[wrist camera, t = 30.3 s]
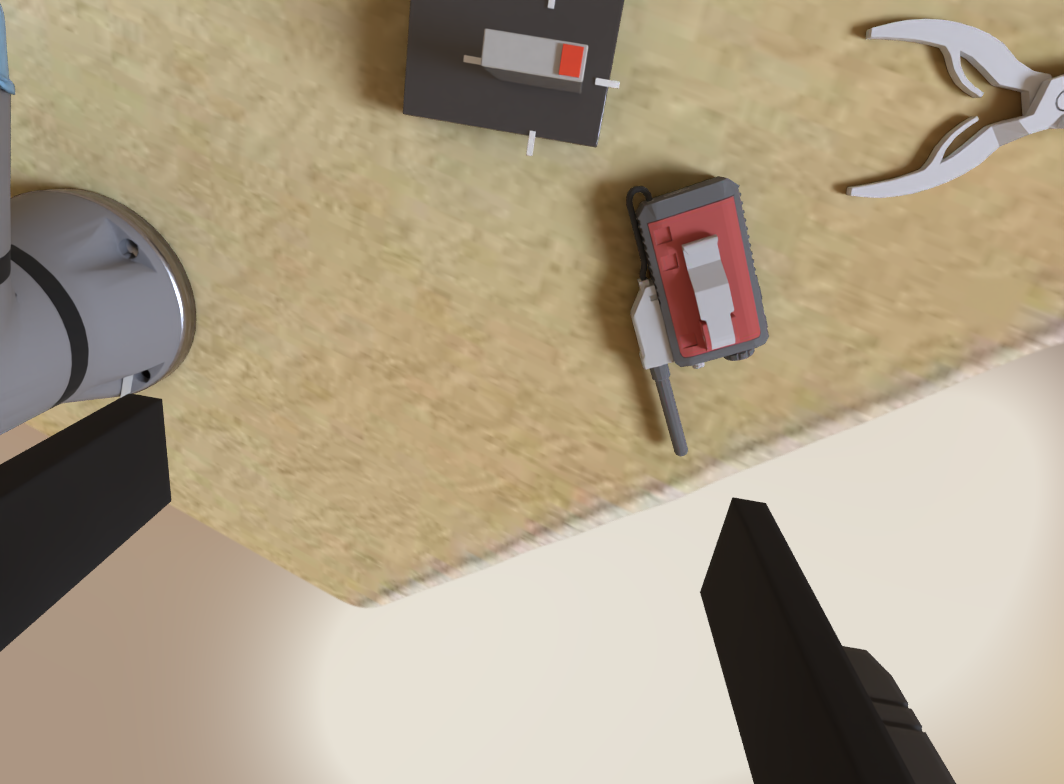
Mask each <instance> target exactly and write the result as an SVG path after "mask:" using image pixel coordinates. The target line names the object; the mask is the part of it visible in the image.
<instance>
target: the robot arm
mask: <svg viewBox="0 0 1064 784" xmlns="http://www.w3.org/2000/svg"><path fill="white" fill-rule="evenodd" d="M11 94H13V95H15V86H14V84H13V82H12V81H11V80H10V79H9V69H8V58H7V43H6V28H5V17H4V12H3V9H2V6H1V4H0V435H1V434H3V433H5V432H7V431H9V430H11V429H13V428H15V427H16V426H18V425H20V424H22V423H24V422H26V421H28V420H30V419H32V418H33V417H35V416H37V415H39V414H41V413H43V412H45V411H47V410H49V409H51V408H53V407H55V406H57V405H59V404H61V403H68V402H76V401H85V400H93V399H102V398H110V397H118V396H121V397H120V398H119V399H118V400H116V401H114V402H112V403H110V404H109V405H107V406H105V407H103V408H101V409H100V410H98V411H96V412H94V413H92V414H91V415H89V416H87V417H85V418H83V419H82V420H80V421H78V422H76V423H74V424H73V425H71V426H69V427H67V428H65V429H64V430H62V431H60V432H58V433H56V434H55V435H53V436H51V437H49V438H47V439H46V440H44V441H42V442H40V443H38V444H37V445H35V446H33V447H31V448H29V449H28V450H26V451H24V452H22V453H20V454H19V455H17V456H15V457H13V458H12V459H10V460H8V461H6V462H4V463H2V464H1V465H0V651H2V650H3V649H4V648H5V647H6V646H7V645H8V644H10V643H11V642H12V641H13V640H14V639H15V638H16V637H17V636H19V635H20V634H21V633H22V632H23V631H24V630H25V629H27V628H28V627H29V626H30V625H31V624H32V623H33V622H35V621H36V620H37V619H38V618H39V617H40V616H41V615H43V614H44V613H45V612H46V611H47V610H48V609H49V608H50V607H52V606H53V605H54V604H55V603H56V602H57V601H58V600H60V599H61V598H62V597H63V596H64V595H65V594H66V593H67V592H68V591H70V590H71V589H72V588H73V587H74V586H75V585H77V584H78V583H79V582H80V581H81V580H82V579H83V578H84V577H86V576H87V575H88V574H89V573H90V572H91V571H92V570H94V569H95V568H96V567H97V566H98V565H99V564H100V563H102V562H103V561H104V560H105V559H106V558H107V557H108V556H109V555H111V554H112V553H113V552H114V551H115V550H116V549H117V548H118V547H120V546H121V545H122V544H123V543H124V542H125V541H126V540H128V539H129V538H130V537H131V536H132V535H133V534H134V533H136V531H138V530H139V529H140V528H141V527H142V526H144V525H145V524H146V523H147V522H148V521H149V520H150V519H151V518H153V517H154V516H155V515H156V514H157V513H158V512H159V511H161V510H162V509H163V508H164V507H165V506H166V505H167V504H169V503H170V502H171V491H170V480H169V469H168V459H167V448H166V437H165V426H164V415H163V404H162V399H159V398H153V397H147V396H142V395H136V394H134V393H137V392H140V391H142V390H145V389H147V388H148V387H150V386H152V385H154V384H156V383H157V382H159V381H161V380H163V379H164V378H166V377H167V376H169V375H170V374H172V373H173V372H174V371H175V370H176V369H177V368H178V367H179V366H180V365H181V363H182V362H183V361H184V359H185V358H186V356H187V355H188V352H189V350H190V348H191V345H192V342H193V339H194V335H195V329H196V307H195V300H194V296H193V291H192V288H191V285H190V282H189V279H188V277H187V274H186V272H185V270H184V268H183V266H182V264H181V262H180V261H179V259H178V257H177V256H176V254H175V252H174V251H173V250H172V248H171V247H170V245H169V244H168V243H167V242H166V240H165V239H164V238H163V237H162V236H161V235H160V234H159V233H158V231H157V230H156V229H155V228H154V227H153V226H151V225H150V224H149V223H148V222H147V221H146V220H145V219H143V218H142V217H141V216H139V215H138V214H137V213H135V212H134V211H132V210H131V209H129V208H128V207H126V206H125V205H123V204H121V203H119V202H117V201H115V200H113V199H111V198H108V197H106V196H103V195H100V194H97V193H94V192H90V191H85V190H79V189H51V190H40V191H31V192H27V193H22V194H20V195H17V196H14V197H12V198H10V178H11ZM700 593H701V597H702V600H703V604H704V607H705V611H706V614H707V618H708V622H709V625H710V628H711V632H712V636H713V639H714V643H715V647H716V650H717V654H718V657H719V661H720V664H721V668H722V672H723V675H724V678H725V682H726V686H727V689H728V693H729V697H730V700H731V704H732V707H733V711H734V714H735V717H736V721H737V725H738V728H739V732H740V736H741V739H742V743H743V746H744V750H745V753H746V757H747V761H748V764H749V768H750V771H751V774H752V778H753V782H754V784H956V783H955V781H954V780H953V778H952V776H951V774H950V772H949V771H948V769H947V768H946V766H945V764H944V762H943V761H942V759H941V757H940V756H939V754H938V752H937V751H936V749H935V747H934V746H933V744H932V743H931V741H930V739H929V737H928V736H927V734H926V733H925V732H922V726H921V724H920V722H919V721H918V719H917V717H916V716H915V714H914V712H913V711H912V709H909V708H908V702H907V701H906V699H905V697H904V696H903V694H902V692H901V690H900V689H899V687H898V685H897V684H896V682H895V680H894V679H893V677H892V676H891V675H890V674H889V673H888V672H887V671H886V670H885V669H884V668H883V667H882V666H881V665H880V664H879V663H878V661H876V660H875V658H874V657H873V656H872V655H871V654H870V653H868V651H866V650H862V649H856V648H850V647H845V646H842V645H841V643H840V641H839V639H838V637H837V636H836V634H835V632H834V630H833V628H832V626H831V624H830V622H829V621H828V619H827V617H826V615H825V613H824V611H823V609H822V608H821V606H820V604H819V602H818V600H817V599H816V596H815V594H814V593H813V591H812V589H811V587H810V585H809V583H808V581H807V579H806V577H805V576H804V574H803V572H802V570H801V568H800V567H799V564H798V562H797V561H796V559H795V557H794V555H793V553H792V551H791V550H790V548H789V546H788V544H787V542H786V540H785V538H784V536H783V535H782V533H781V531H780V529H779V527H778V525H777V523H776V522H775V519H774V518H773V516H772V514H771V512H770V510H769V508H768V506H767V505H766V503H762V502H756V501H750V500H744V499H739V498H732V500H731V503H730V506H729V509H728V512H727V515H726V518H725V521H724V524H723V527H722V530H721V533H720V536H719V539H718V541H717V545H716V547H715V550H714V553H713V556H712V559H711V562H710V565H709V568H708V571H707V574H706V577H705V580H704V582H703V585H702V588H701V591H700Z"/></svg>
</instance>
